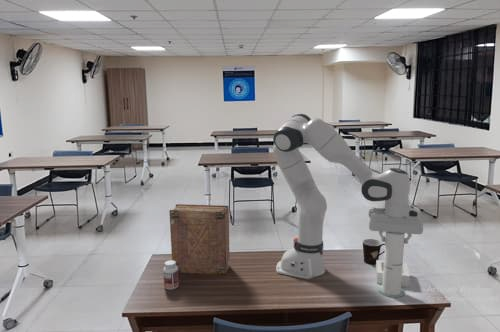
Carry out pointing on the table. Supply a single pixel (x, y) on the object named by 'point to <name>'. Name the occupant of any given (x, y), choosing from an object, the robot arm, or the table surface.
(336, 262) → the table surface
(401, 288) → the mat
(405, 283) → the holder
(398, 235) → the cylindrical container
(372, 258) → the coffee mug
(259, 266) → the table surface
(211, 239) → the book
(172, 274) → the pill bottle
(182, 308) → the table surface
